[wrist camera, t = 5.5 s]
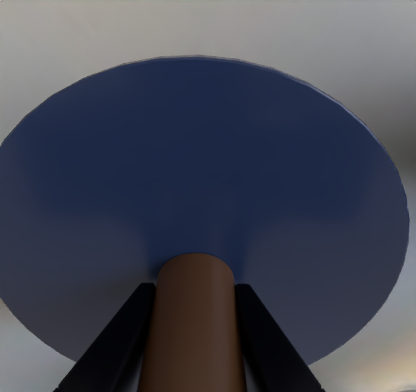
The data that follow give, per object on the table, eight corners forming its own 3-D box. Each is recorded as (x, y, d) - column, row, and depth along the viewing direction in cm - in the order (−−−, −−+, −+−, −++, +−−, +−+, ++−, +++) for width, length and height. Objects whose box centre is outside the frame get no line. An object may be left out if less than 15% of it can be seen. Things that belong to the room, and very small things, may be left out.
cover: (463, 59, 7) (996, 135, 2) (335, 365, 14) (407, 553, 9) (-77, 44, 7) (-737, 95, 2) (53, 363, 13) (-34, 557, 8)
